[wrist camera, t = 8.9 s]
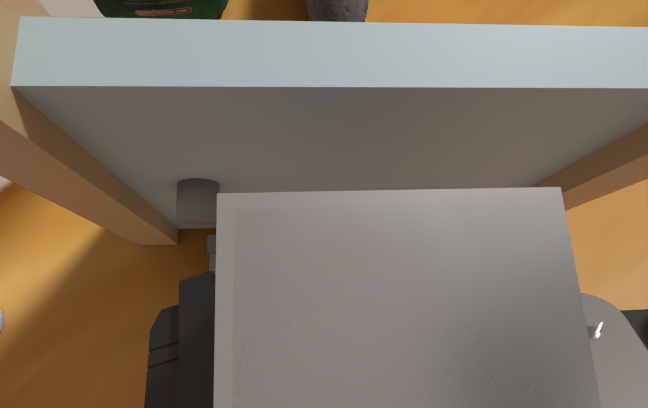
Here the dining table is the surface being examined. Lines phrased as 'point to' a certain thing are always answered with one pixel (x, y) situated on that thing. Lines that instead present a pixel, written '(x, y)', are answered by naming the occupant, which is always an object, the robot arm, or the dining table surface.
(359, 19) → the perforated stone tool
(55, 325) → the dining table surface
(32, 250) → the dining table surface
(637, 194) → the dining table surface
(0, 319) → the hippopotamus toy
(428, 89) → the door
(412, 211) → the bar
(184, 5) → the coffee jar
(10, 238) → the dining table surface
